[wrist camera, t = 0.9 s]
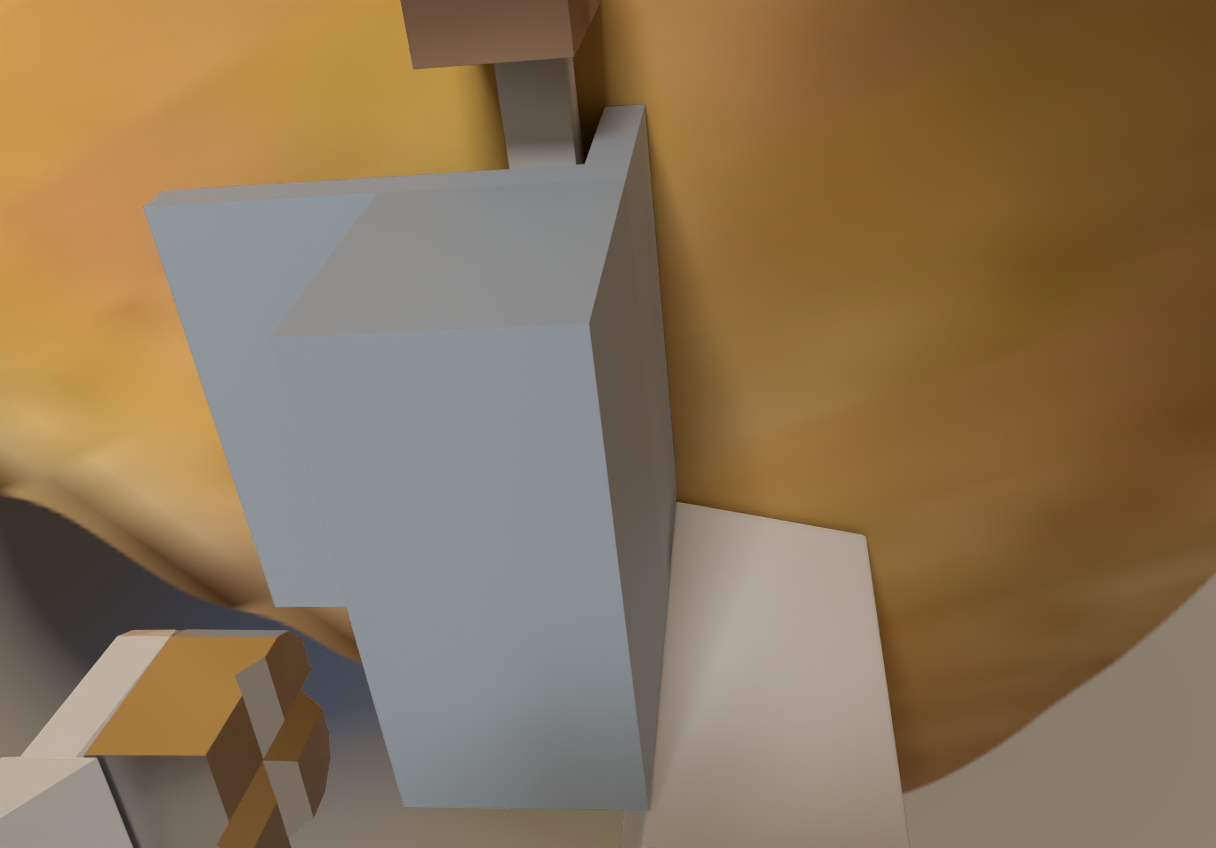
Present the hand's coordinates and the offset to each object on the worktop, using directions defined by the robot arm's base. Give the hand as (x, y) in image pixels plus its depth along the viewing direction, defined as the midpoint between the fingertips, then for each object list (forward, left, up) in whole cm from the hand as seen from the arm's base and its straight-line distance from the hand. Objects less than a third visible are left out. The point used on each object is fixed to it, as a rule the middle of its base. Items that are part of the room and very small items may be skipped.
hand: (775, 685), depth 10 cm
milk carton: (+22, -1, -27) cm, 35 cm away
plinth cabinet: (+10, -10, -27) cm, 30 cm away
